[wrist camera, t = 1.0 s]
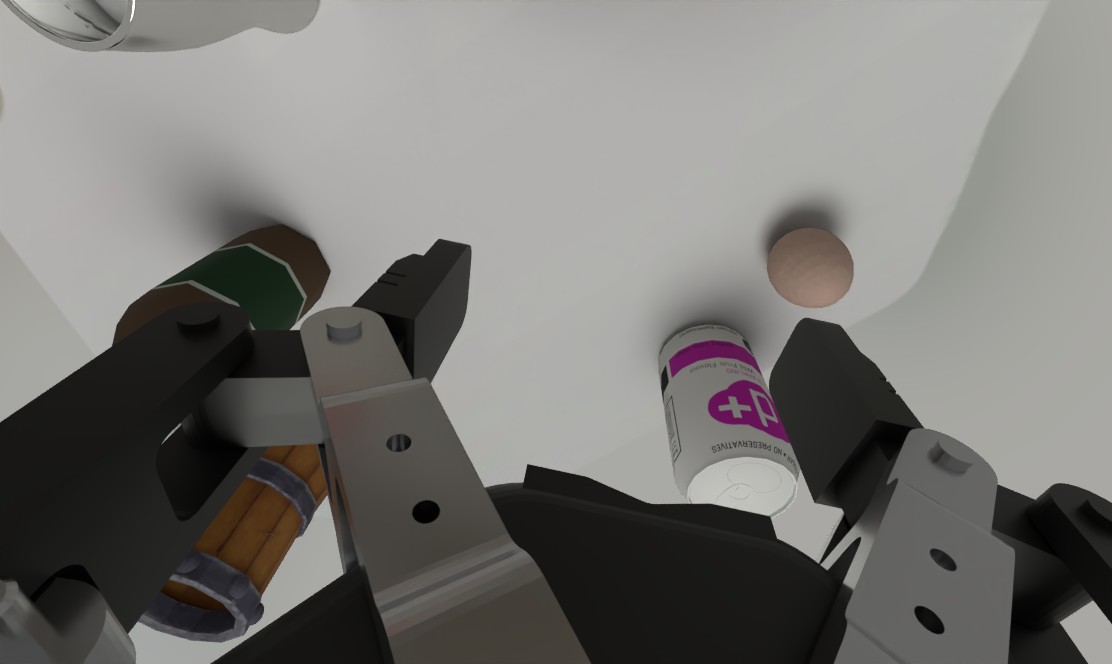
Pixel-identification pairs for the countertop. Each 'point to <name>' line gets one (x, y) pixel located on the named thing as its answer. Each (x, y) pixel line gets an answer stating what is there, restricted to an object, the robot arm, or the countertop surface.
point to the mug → (241, 549)
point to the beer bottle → (243, 281)
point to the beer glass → (157, 21)
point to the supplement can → (724, 424)
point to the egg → (810, 268)
